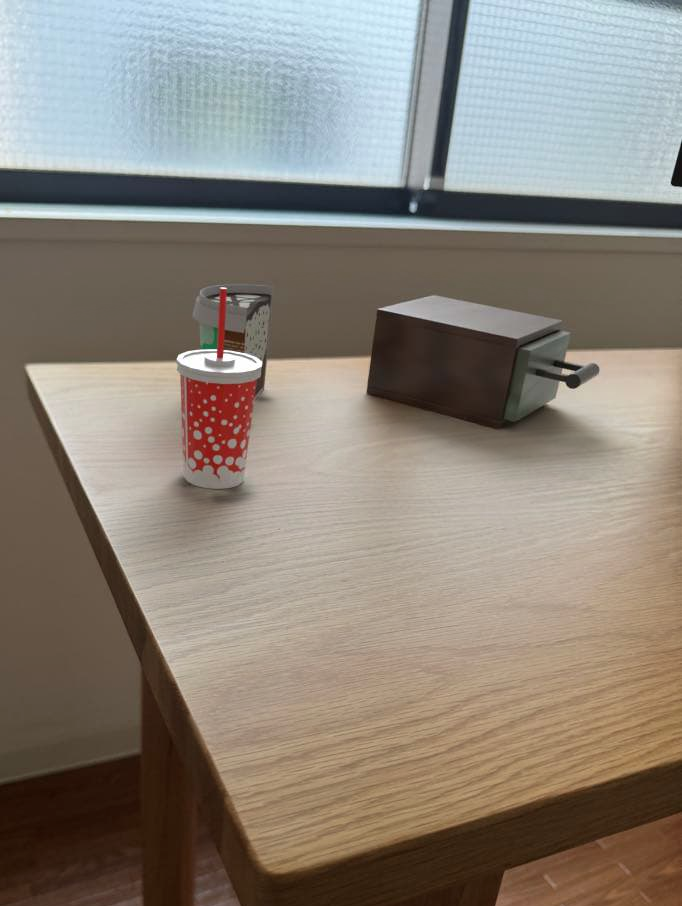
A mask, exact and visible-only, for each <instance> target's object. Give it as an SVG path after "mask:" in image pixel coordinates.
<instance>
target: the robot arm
mask: <svg viewBox="0 0 682 906" xmlns="http://www.w3.org/2000/svg"><path fill="white" fill-rule="evenodd" d="M673 167H674V168H673V171H672V176H671V180H670V185H671V186H672V187H675V188H682V140H681V141H680V145H679V149H678V153H677V156H676V160H675V164H674V166H673Z"/></svg>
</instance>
